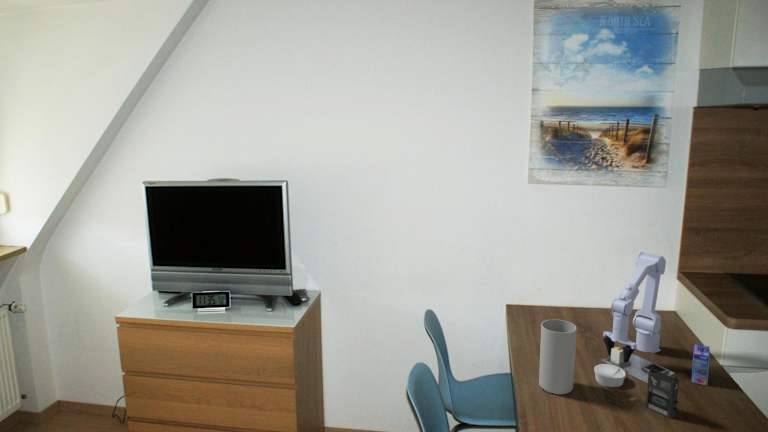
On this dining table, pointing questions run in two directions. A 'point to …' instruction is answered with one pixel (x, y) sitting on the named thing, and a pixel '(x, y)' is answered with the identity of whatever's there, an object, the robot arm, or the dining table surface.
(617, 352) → the plug
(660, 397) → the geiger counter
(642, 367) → the switch plate
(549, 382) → the cylinder vase
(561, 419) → the dining table surface
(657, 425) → the dining table surface
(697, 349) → the ink cartridge box
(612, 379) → the ramekin
